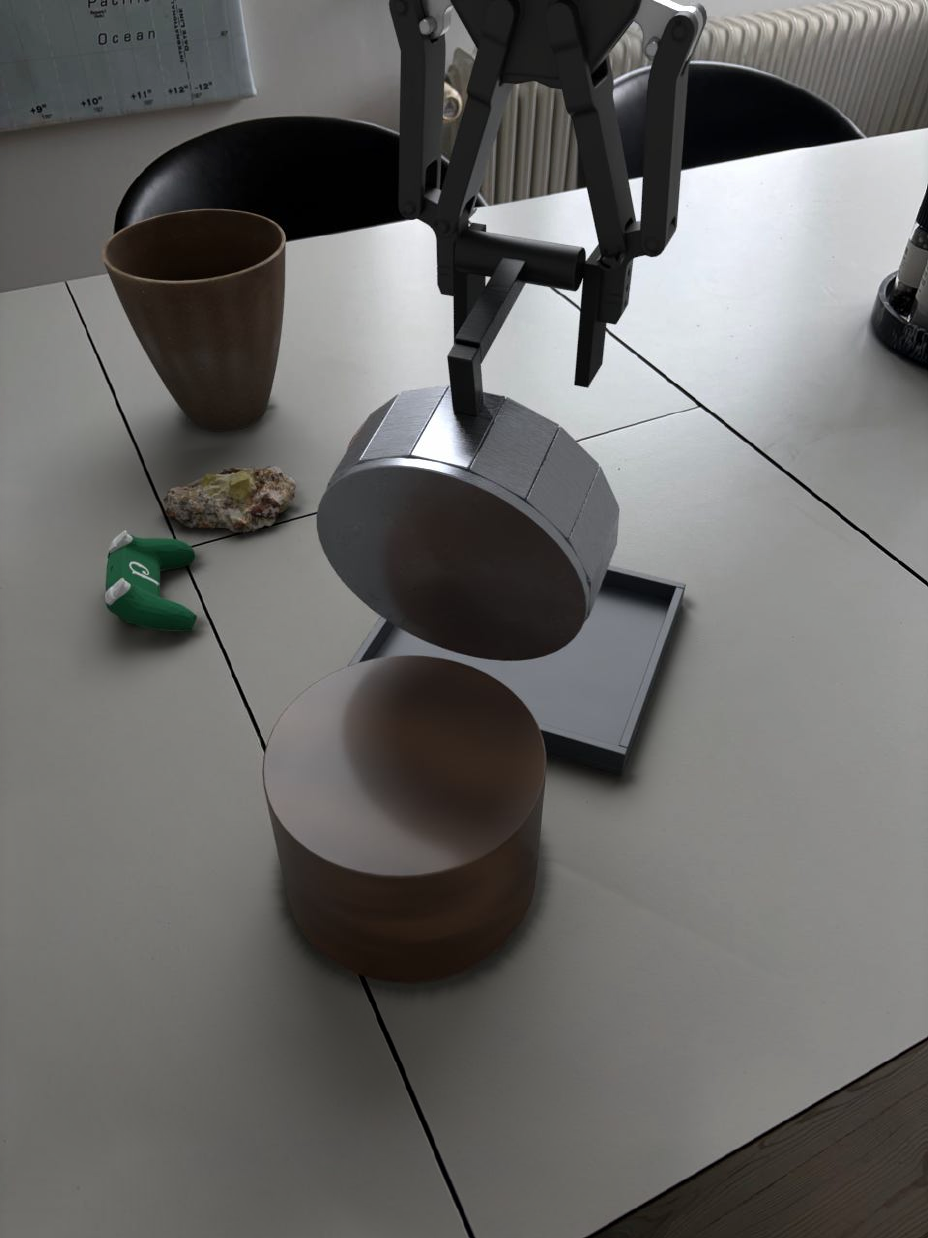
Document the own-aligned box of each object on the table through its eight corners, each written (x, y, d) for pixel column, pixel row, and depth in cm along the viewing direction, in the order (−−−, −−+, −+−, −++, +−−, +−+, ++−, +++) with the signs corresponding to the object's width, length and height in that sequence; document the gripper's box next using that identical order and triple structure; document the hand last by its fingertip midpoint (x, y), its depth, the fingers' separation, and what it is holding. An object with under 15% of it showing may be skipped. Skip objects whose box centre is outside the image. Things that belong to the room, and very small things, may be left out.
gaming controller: (170, 576, 79) (101, 541, 76) (199, 544, 78) (129, 508, 74) (170, 657, 73) (95, 623, 69) (201, 624, 71) (125, 588, 68)
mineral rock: (288, 444, 86) (294, 474, 79) (297, 492, 88) (304, 525, 81) (160, 464, 84) (155, 497, 77) (172, 513, 86) (168, 548, 79)
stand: (354, 740, 65) (341, 628, 58) (568, 808, 61) (581, 695, 54) (237, 929, 55) (206, 820, 48) (484, 1023, 51) (488, 919, 44)
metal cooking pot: (342, 621, 58) (426, 467, 65) (583, 688, 54) (645, 518, 61) (270, 372, 43) (389, 207, 50) (594, 441, 39) (675, 252, 46)
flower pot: (156, 469, 87) (113, 294, 76) (132, 387, 97) (91, 221, 86) (324, 435, 91) (305, 264, 80) (284, 360, 101) (263, 198, 90)
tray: (442, 543, 80) (442, 523, 78) (681, 604, 74) (686, 583, 73) (345, 692, 68) (343, 671, 66) (622, 775, 63) (625, 755, 61)
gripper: (822, -189, 38) (718, 362, 54) (370, -203, 43) (396, 304, 59) (793, -169, 33) (688, 433, 49) (284, -188, 38) (337, 362, 54)
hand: (528, 361), depth 54 cm, fingers closed on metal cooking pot, 6 cm apart
